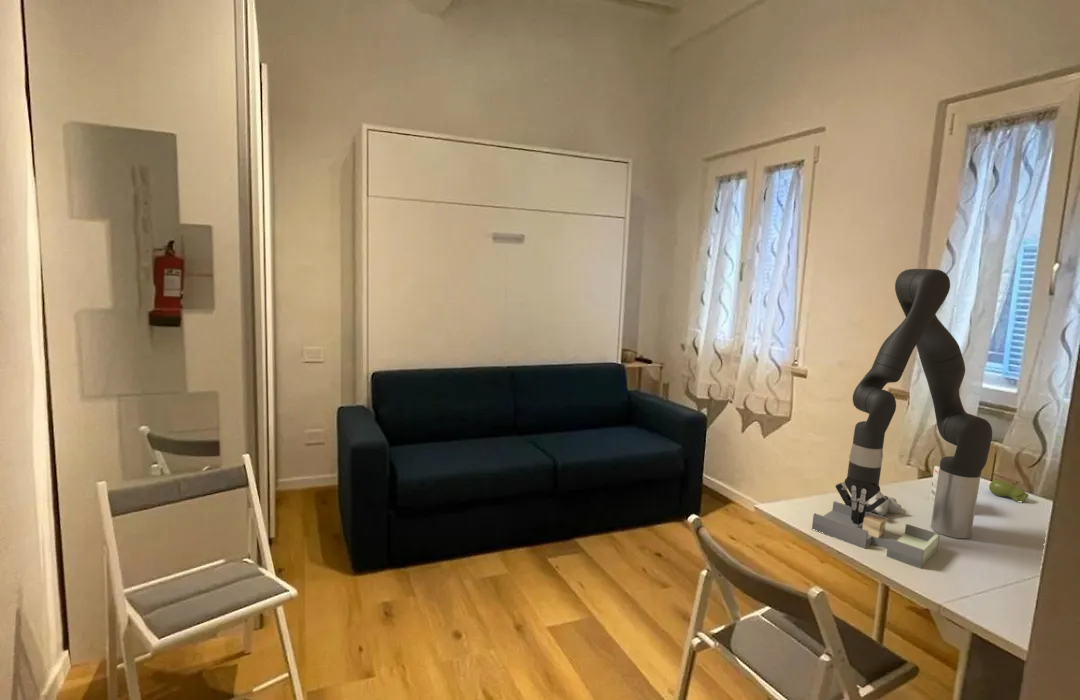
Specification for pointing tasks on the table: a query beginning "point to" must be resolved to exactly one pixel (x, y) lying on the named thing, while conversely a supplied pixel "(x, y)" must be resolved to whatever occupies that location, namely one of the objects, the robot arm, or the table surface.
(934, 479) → the ink box
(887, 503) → the bunny figurine
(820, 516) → the trap box
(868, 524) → the birch block
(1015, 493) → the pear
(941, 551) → the table surface
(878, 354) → the robot arm
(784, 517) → the table surface
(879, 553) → the table surface
